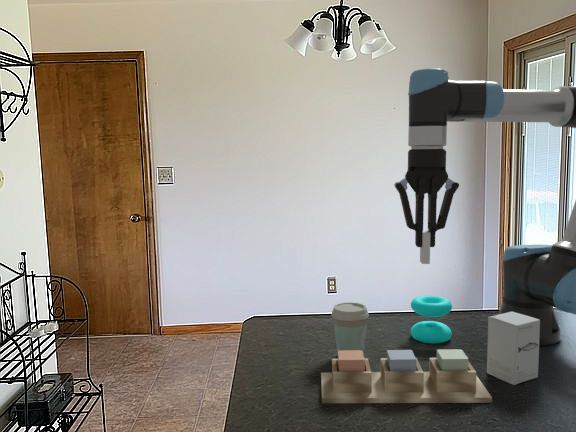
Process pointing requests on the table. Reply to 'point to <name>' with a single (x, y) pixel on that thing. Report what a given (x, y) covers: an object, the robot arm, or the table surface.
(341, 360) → the terracotta button
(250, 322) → the table surface
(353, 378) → the button panel
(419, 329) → the donuts
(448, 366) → the sage button
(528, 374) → the supplement box
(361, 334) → the coffee cup
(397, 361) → the slate button
